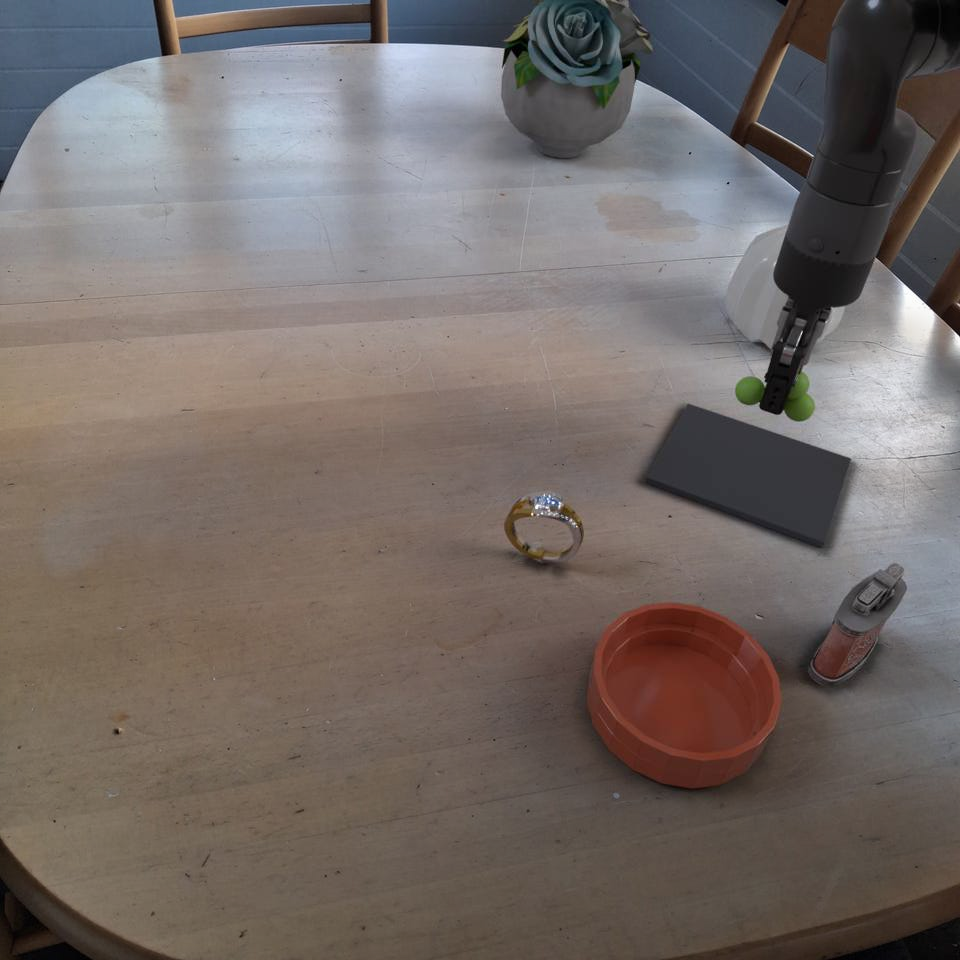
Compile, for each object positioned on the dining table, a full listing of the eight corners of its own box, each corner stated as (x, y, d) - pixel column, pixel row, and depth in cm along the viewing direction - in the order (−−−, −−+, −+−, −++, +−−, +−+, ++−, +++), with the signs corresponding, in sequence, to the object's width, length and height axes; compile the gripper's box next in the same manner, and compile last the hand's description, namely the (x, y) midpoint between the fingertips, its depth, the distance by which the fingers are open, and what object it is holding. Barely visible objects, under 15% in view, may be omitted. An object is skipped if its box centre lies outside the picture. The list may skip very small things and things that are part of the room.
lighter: (848, 619, 80) (890, 542, 73) (883, 643, 78) (929, 566, 71) (798, 668, 76) (837, 591, 69) (834, 695, 74) (877, 618, 67)
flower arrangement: (663, 153, 152) (695, -6, 135) (569, 196, 138) (592, 25, 121) (551, 108, 164) (568, -44, 147) (454, 143, 150) (461, -20, 133)
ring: (497, 559, 83) (504, 496, 77) (510, 536, 85) (517, 473, 79) (569, 585, 81) (581, 522, 75) (580, 561, 83) (592, 498, 78)
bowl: (783, 679, 75) (799, 646, 72) (738, 824, 65) (754, 793, 62) (622, 612, 79) (631, 578, 76) (558, 738, 69) (565, 706, 66)
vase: (707, 343, 111) (734, 244, 101) (734, 291, 120) (761, 196, 111) (820, 377, 107) (859, 277, 98) (839, 321, 116) (876, 224, 107)
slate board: (849, 463, 95) (851, 458, 95) (822, 548, 86) (825, 542, 85) (686, 408, 101) (687, 403, 100) (644, 482, 91) (646, 476, 91)
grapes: (812, 414, 88) (833, 363, 83) (806, 431, 86) (827, 379, 81) (736, 390, 90) (752, 338, 86) (728, 405, 88) (744, 353, 84)
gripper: (864, 288, 69) (797, 455, 81) (891, 216, 79) (827, 376, 91) (768, 260, 72) (716, 428, 83) (805, 194, 81) (754, 353, 93)
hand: (774, 400), depth 87 cm, fingers closed on grapes, 2 cm apart
